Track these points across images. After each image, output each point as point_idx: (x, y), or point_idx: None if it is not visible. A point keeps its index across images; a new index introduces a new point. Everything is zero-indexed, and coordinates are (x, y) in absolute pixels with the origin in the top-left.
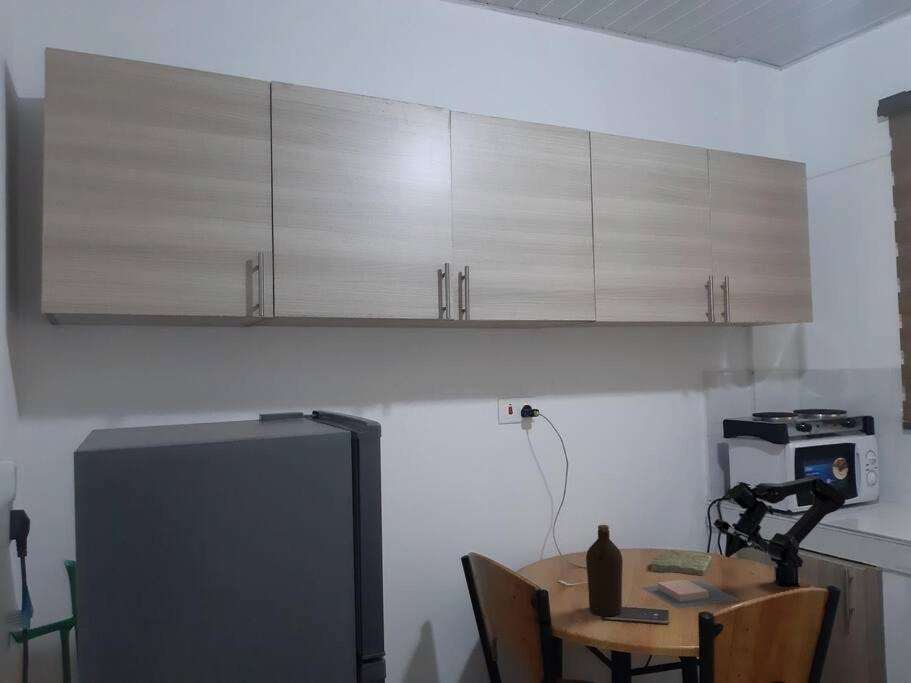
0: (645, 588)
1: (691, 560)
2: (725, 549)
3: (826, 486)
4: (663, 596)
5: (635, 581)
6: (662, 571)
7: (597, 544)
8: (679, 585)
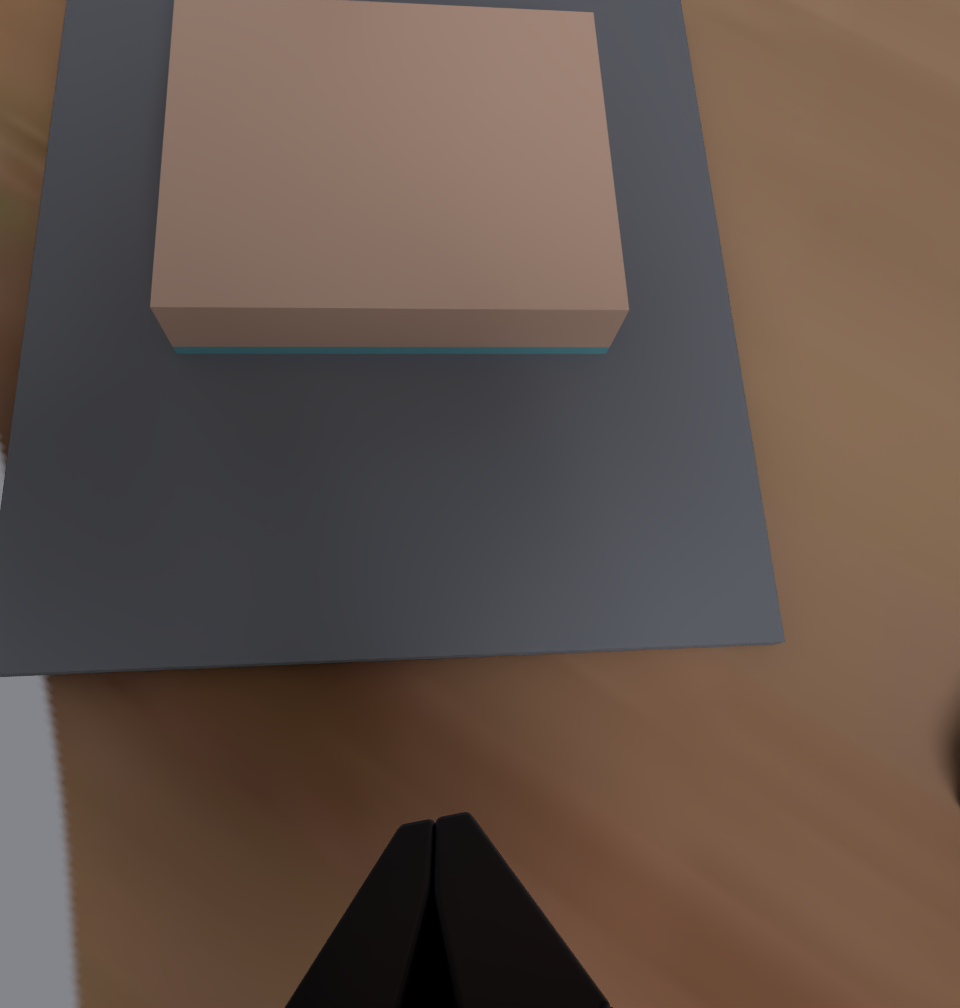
0: (648, 14)
1: None
2: (518, 885)
3: None
4: None
5: (896, 80)
6: None
7: None
8: (441, 139)
